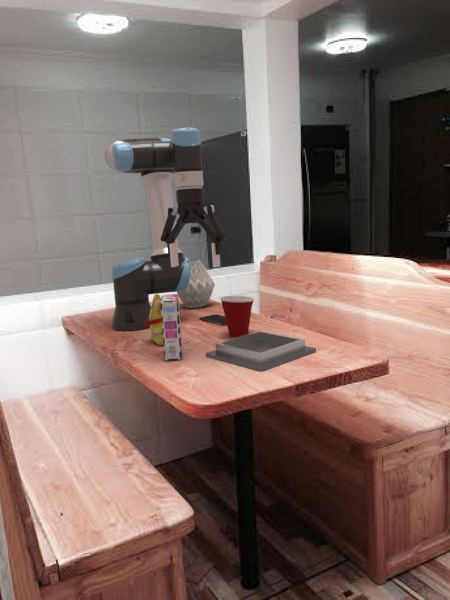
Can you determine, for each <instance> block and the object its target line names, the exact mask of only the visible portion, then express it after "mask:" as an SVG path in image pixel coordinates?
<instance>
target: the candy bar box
mask: <svg viewBox="0 0 450 600" xmlns="http://www.w3.org/2000/svg"><path fill="white" fill-rule="evenodd" d="M160 297H161V301H160V303H161V316H162V329H163V343H164V346H163V352H164V353H163V354H164V356H163V357H164V362H169V361H172V362H173V361H181V360H183V341H182V339H183V338H182V325H181V313H180V312H181V311H180V298H179V296H178V294H177V293H176V294H175V293H174V294H173V293H172V294H162V295H161V296H160Z"/></svg>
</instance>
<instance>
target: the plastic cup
mask: <svg viewBox="0 0 450 600" xmlns="http://www.w3.org/2000/svg"><path fill="white" fill-rule="evenodd" d="M219 299H220V303H221V305H222V309H223V314H224V316H225V319H226V324H227V331H228V335H229V337H232V338H236V337H240V336H243V335H246V334H249V330H250V323H251V315H252V314H251V313H252V308H253V304H254V301H255V299H256V298H255V297H252V296H247V295H224V296H221V297H219Z"/></svg>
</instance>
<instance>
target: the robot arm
mask: <svg viewBox="0 0 450 600" xmlns="http://www.w3.org/2000/svg"><path fill="white" fill-rule="evenodd" d="M202 158H203V157H202V140H201V133H200V130H199V129H198V128H195V127H180V128H174V129H173V130H172V132H171V139H170V138H167V137H148V138H146V137H144V138H125V139H120V140H117V141H114V142H112V143H111V144H109V145H108V146H107V148H106V149H105V152H104V159H105V162H106V165H107V166H108V167H109V168H110V169H112V170H113V171H116V172H119V173H124V174H125V173H126V174H140V178H141V180H142V181H144V182H145V185H146V192H147V201H148V208H149V219H150V225H151V226H150V227H151V234H152V235H151V236H152V243H153V245H152V246H153V252H152V253H151V254H150V256H149V257H150V260H148V261H147V259H146V258H145V257H143V256H142V257H141V256H140V257H135V258H134V257H133V258H129V259H124V260H120V261H118V262H116V263H113V266H112V268H111V270H112V272H111V273H112V276H111V279H112V282H113V294H114V305H115V307H114V311H113V315H112V321H111V323H112V325H111V326H112V329H113V330H115V331H121V332H122V331H123V332H126V331H139V330H145V329H146V327H145V324H146V323H147V321H149V313H150V309H151V306H152V305H151V304H150V297H149V296H150V295H155V294H159V295H160V294H166V293H177V292H176V291H182V290H185V289H186V288H187V287H188V284H189V279H190V264H189V261H190V259H189V258H188V257H186V256H184V252H183V250H181V249H180V248H179V242H178V236H179V234H180V233H181V232H182V230H183V228H184V227H185V225H186V224H198V225H200V226H201V228H202V229H203V230H204V231H205V233H206V234H207V236H209V237H210V239H211V241H213V242H212V243H211V257H212V268H219V267H221V257H220V256H221V255H222V254H223V249H222V248H223V245H222V242H223V241H226V240H228V239H229V236H228V234H227V232H226V229H225V228H224V226H223V224H222V222H221V220H220V218H219V216H218V214H217V210H216V206H215V205H214V204H213V205H212V204H211V205H210V204H209V205H206V206H205V189H204V188H202V187H203V186H204V174H203V173H204V172H203V161H202V160H203V159H202ZM173 178H174V180H175V181H174V182H175V183H174V184H175V188H177V190H175V196H176V203H177V207H175V206H174V200H173V198H174V197H173V192H172V191H173V189H172V180H173ZM205 213H206V214H207V216H208V218H209V220H210V221H209V220H208V218H207V217H206V215H205ZM177 215H179V216H178V218H177ZM176 218H177V220H176ZM210 222H211V223H212V224H210ZM147 329H150V324H149V327H148V328H147Z"/></svg>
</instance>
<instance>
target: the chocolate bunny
mask: <svg viewBox="0 0 450 600" xmlns="http://www.w3.org/2000/svg"><path fill="white" fill-rule="evenodd" d="M161 297H162V296H161V295H160V293H159V294H153V297H152V298H153V299H152V305H150V306H151V309H150V313H149V321H147V323H146V324H145V327H146V328H145V329H146V330H148V329H150V333H151V334H150V335H151V339H152V341H153V342H155V343H156V344H157V345H158V346H163V347H164V343H163V329H162V316H161V303H160V301H161ZM149 324H150V327H149ZM148 327H149V328H148Z"/></svg>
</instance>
